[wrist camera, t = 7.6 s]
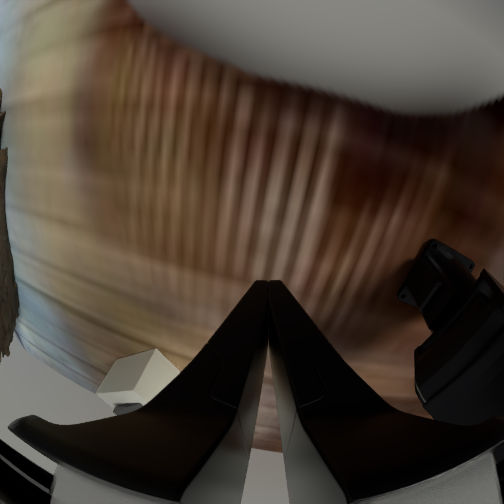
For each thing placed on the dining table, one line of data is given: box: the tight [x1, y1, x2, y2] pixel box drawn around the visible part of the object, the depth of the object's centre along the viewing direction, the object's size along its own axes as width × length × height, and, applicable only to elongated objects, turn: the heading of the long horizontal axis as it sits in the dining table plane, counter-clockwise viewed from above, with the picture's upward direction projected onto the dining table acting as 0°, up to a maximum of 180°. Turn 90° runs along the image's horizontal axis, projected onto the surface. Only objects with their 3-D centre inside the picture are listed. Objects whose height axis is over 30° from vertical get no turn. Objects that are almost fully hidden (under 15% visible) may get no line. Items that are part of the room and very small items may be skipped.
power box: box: [95, 348, 180, 409], centre depth 33 cm, size 15×18×7 cm
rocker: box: [113, 403, 143, 415], centre depth 28 cm, size 6×4×1 cm, turn 122°
